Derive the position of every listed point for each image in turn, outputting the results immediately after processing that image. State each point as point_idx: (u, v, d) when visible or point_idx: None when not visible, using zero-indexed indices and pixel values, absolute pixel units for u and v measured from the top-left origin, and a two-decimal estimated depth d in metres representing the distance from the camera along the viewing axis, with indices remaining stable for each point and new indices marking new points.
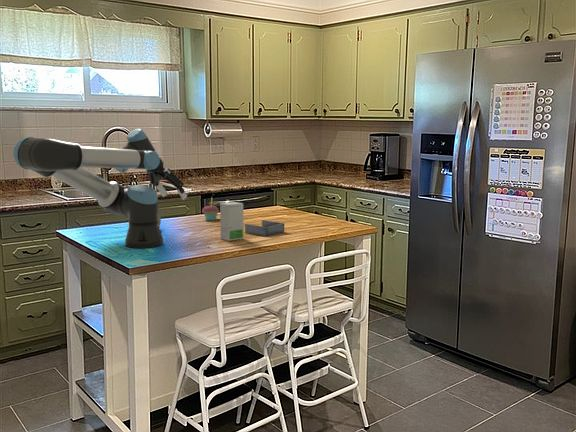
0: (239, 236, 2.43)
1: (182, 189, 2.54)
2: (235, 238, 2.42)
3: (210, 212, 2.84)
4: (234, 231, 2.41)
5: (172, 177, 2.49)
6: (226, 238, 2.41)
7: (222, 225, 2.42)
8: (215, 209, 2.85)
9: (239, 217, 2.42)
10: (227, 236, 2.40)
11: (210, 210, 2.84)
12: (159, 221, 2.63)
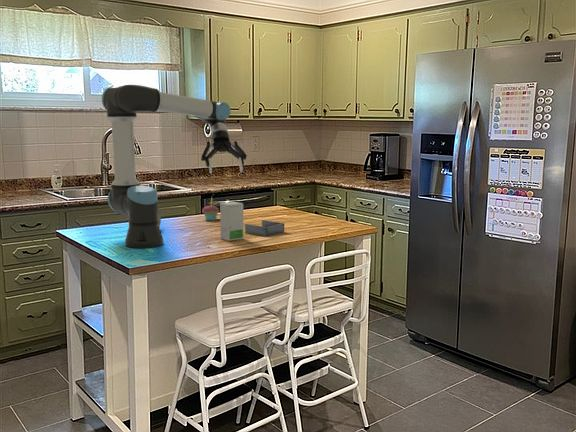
0: (239, 236, 2.43)
1: None
2: (235, 238, 2.42)
3: (210, 212, 2.84)
4: (234, 231, 2.41)
5: None
6: (226, 238, 2.41)
7: (222, 225, 2.42)
8: (215, 209, 2.85)
9: (239, 217, 2.42)
10: (227, 236, 2.40)
11: (210, 210, 2.84)
12: (159, 221, 2.63)
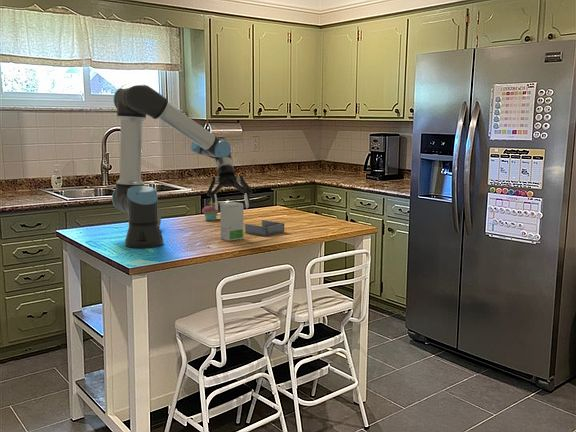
0: (239, 236, 2.43)
1: None
2: (235, 238, 2.42)
3: (210, 212, 2.84)
4: (234, 231, 2.41)
5: None
6: (226, 238, 2.41)
7: (222, 225, 2.42)
8: (215, 209, 2.85)
9: (239, 217, 2.42)
10: (227, 236, 2.40)
11: (210, 210, 2.84)
12: (159, 221, 2.63)
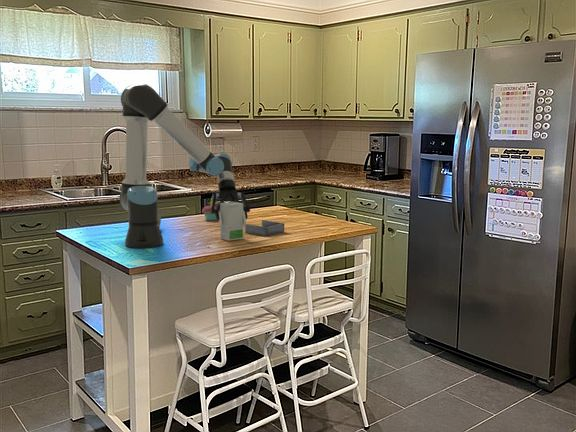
0: (239, 236, 2.43)
1: (246, 215, 2.45)
2: (235, 238, 2.42)
3: (210, 212, 2.84)
4: (234, 231, 2.41)
5: None
6: (226, 238, 2.41)
7: (222, 225, 2.42)
8: (215, 209, 2.85)
9: (239, 217, 2.42)
10: (227, 236, 2.40)
11: (210, 210, 2.84)
12: (159, 221, 2.63)
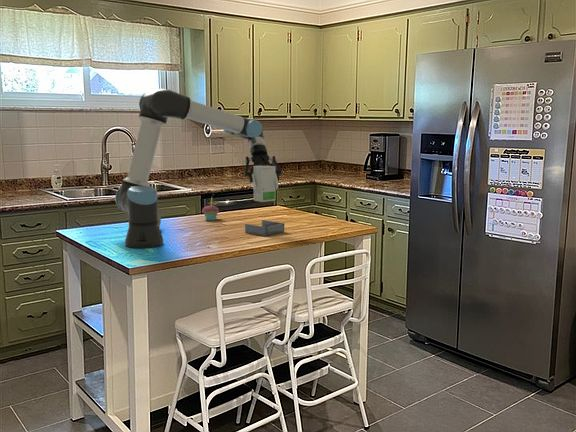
0: (271, 198, 2.54)
1: (278, 178, 2.56)
2: (268, 199, 2.53)
3: (210, 212, 2.84)
4: (267, 193, 2.52)
5: None
6: (259, 199, 2.51)
7: None
8: (215, 209, 2.85)
9: (271, 180, 2.52)
10: (260, 197, 2.51)
11: (210, 210, 2.84)
12: (159, 221, 2.63)
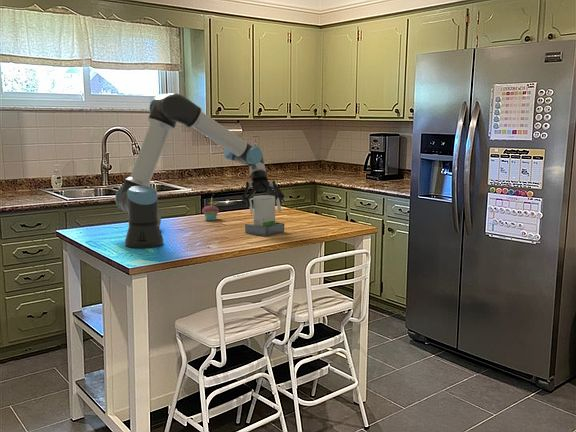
0: None
1: None
2: None
3: (210, 212, 2.84)
4: (267, 223, 2.54)
5: None
6: None
7: (255, 217, 2.55)
8: (215, 209, 2.85)
9: (271, 209, 2.55)
10: None
11: (210, 210, 2.84)
12: (159, 221, 2.63)
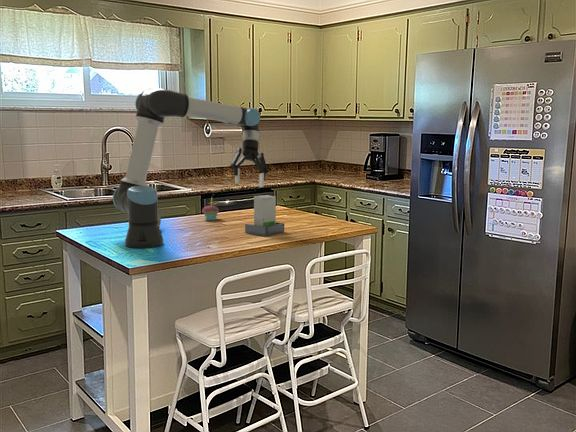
0: None
1: None
2: None
3: (210, 212, 2.84)
4: (267, 223, 2.54)
5: None
6: None
7: (256, 217, 2.55)
8: (215, 209, 2.85)
9: (272, 210, 2.55)
10: None
11: (210, 210, 2.84)
12: (159, 221, 2.63)
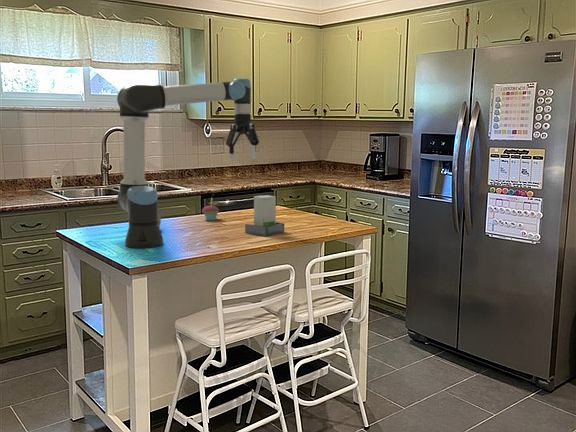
0: None
1: None
2: None
3: (210, 212, 2.84)
4: (267, 223, 2.54)
5: None
6: None
7: (256, 217, 2.55)
8: (215, 209, 2.85)
9: (272, 210, 2.55)
10: None
11: (210, 210, 2.84)
12: (159, 221, 2.63)
